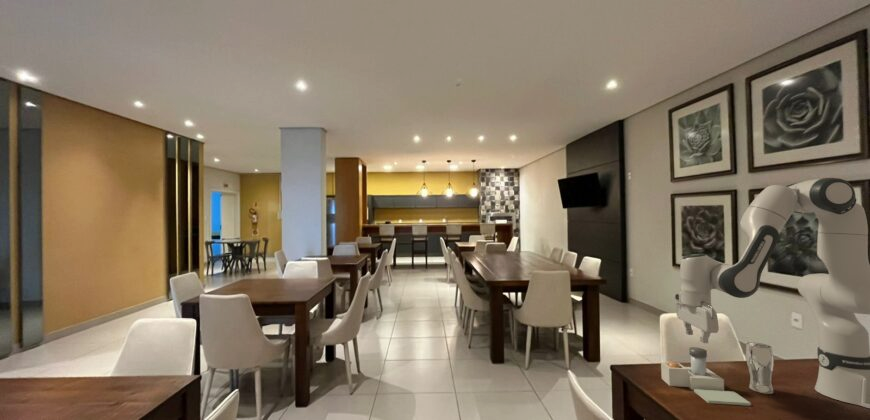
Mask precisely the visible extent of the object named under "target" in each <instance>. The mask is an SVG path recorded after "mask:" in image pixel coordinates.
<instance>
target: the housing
mask: <svg viewBox="0 0 870 420" xmlns="http://www.w3.org/2000/svg"><path fill="white" fill-rule="evenodd" d="M669 362H670V361H667V362H666V361H661V362H660V369H661V370H660V371H661V379H662V381H664V382H665V383H666V384H667V385H668V386H669V387H680V388H681V387H684V388H685V387H686V388H689V389H690V390H691V391H692V390H693V391H694V389H700V390H718V391H725V380H724V378H723V377H720V376H719V374H718V375H717V374H716V373H715V372H713V371H712V370H710V369H709V368H707V367H706V370H707V376H697V375H693V374H692V373H691V366H684V365H683V364H681V363H679V362H678V363H679V368H671V367H669Z"/></svg>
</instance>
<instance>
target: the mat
mask: <svg viewBox="0 0 870 420" xmlns="http://www.w3.org/2000/svg"><path fill="white" fill-rule="evenodd" d="M693 392H694V393H695V394H697V395H698V396H699V397H700V398H702V400H704V401H705V402H706V403H707V404H717V405H733V406H734V405H735V406H748V407H749V406H752V403H751V402H750V401H748V400H747V399H745V398H744V397H743V396H741V395H740V394H739V393H737V392H735V391H730V390H724V391H718V390H700V389H694V390H693Z"/></svg>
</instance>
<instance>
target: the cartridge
mask: <svg viewBox="0 0 870 420" xmlns="http://www.w3.org/2000/svg"><path fill="white" fill-rule="evenodd" d="M688 349H689V353H688V354H689V355H690V367H691V373H692V374H693V375H697V376H707V370H706V368H707V357H708V351H707V349H704V348H701V347H694V346H691V347H689V348H688Z"/></svg>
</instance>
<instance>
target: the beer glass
mask: <svg viewBox="0 0 870 420" xmlns="http://www.w3.org/2000/svg"><path fill="white" fill-rule="evenodd" d="M745 359H746V364H747V365H746V366H747V368H748V371H749V376H750V377H749V379H750V380H749V385H748V386H749V389H750V390H752V391H754V392H757V393H760V394H765V395H772V394H773V393H774V388H773V385H772V376H773V370H774V351H773V347H772V346H771V345H769V344H765V343H761V342H755V341H747V342H746V343H745Z"/></svg>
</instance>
